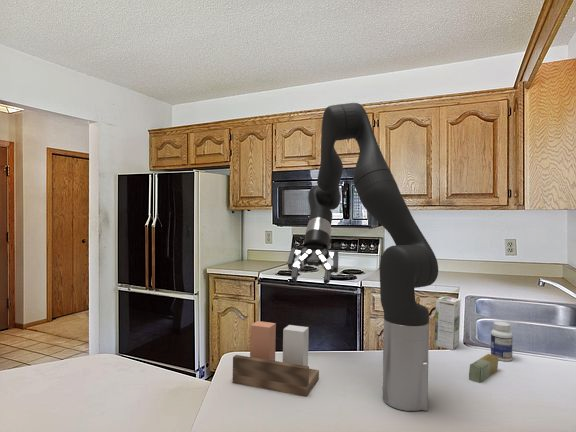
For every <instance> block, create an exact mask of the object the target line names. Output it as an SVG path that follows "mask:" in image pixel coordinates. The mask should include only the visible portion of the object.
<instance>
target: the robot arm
mask: <svg viewBox="0 0 576 432" xmlns="http://www.w3.org/2000/svg"><path fill="white" fill-rule="evenodd" d="M352 139H353V140H355V141H356V143H357V145H358V147H359V148H358V149H359V152H358V153H359V154H358V158H357V161H356V164H355V167H354V172H353V175H352V177H353V185H354V189H355V191H356V193H357V195H358V199H359V200H360V202H361V204H362V206H363V208H364V209H365V210H366V211H367V212H368V213H369V214H370V215H371V217H372V218H373V219H375V220H376V221H377V223H378V224H380V225H381V226H382V227H383V228H384V229H385V230H386V232H387V233H388V234H389V235H390V237H391V238H392V241H393V242H394V245H391V246H389V247H387V248H386V249H385V250H384V251H383V253H382V255H381V258H380V262H379V288H380V289H379V290H380V292H379V293H380V304H381V307H382V310H383V337H382V338H383V340H382V341H383V345H382V349H383V350H382V387H381V389H382V396H381V397H382V400H383V402H384V403H385V404H386V405H388V406H389V407H392V408H394V409H398V410H401V411H405V412H406V411H407V412H408V411H409V412H416V411H424V412H425V411H426V412H427V411H428V402H429V401H428V399H429V397H428V395H429V392H428V391H429V339H430V337H429V336H430V335H429V334H430V333H429V331H430V310H429V309H428V308H427V307H426V306H424V305H422V304H419V303H417V301H416V293H415V292H416V291H415V289H416V288H425V287H428V286H431V285H432V284H434V283H435V281H436V280H437V278H438V275H439V263H438V260H437V257H436V254H435V252H434V251H433V249H432V247H431V246H430V243H429V242H428V240H427V239H426V237H425V236H424V234H423V233H422V231H421V229H420V228H419V226H418V225H417V223H416V220H415V219H414V217H413V216H412V213H411V211H410V209H409V207H408V205H407V203H406V201H405V200H404V197H403V196H402V195H403V194H402V193H401V191H400V189H399V187H398V184H397V182H396V180H395V176H394V175H393V173H392V171H391V169H390V167H389V165H388V164H387V161H386V159H385V157H384V155H383V152H382V151H381V148H380V147H379V143H378V141H377V138H376V136H375V133H374V130H373V127H372V124H371V122H370V119H369V116H368V113H367V112H366V109H365V108H364V107H363V105H362V104H361V103H358V102H349V103H340V104H333V105H329V106H327V107H326V108H325V109H324V111H323V114H322V121H321V143H320V147H321V148H320V164H319V165H320V166H319V168H318V175H317V180H316V183H317V185H313V186H312V187H311V188H310V189H309V191H308V195H307V196H308V197H307V199H308V204H309V211H310V214H309V218H308V222H307V223H308V224H307V226H306V229H305V233H304V234H305V235H304V239H303V244H302V248H301V249H300V250H298V249H296V248H295V247H292V248H291V250H290V252H289V256H288V259H287V267H288V269H289V270H291V276H290V277H291V280H292V281H293V283H297V281H298V277H299V271H300V270H301V269H303V268H305V267H306V266H307V265H308V266H315V267H320V266H321V268H322V269H323V270H324V276H323V285H325V286H326V285H327V284H330V282H331V281H330V280H331V275H332V273H334V274H336V273H338V272H339V251H338V250H334V251H333V252H331V251H329V248H330V241H331V237H332V236H331V235H332V221H333V210H336V209H337V208H338V207H339V206H340V204H341V191H340V190H341V189H340V183H341V180H342V176H343V171H344V164H343V162H342V159H341V157H340V155H339V154H338V153H337V151H336V148H335V143H336V142H337V141H344V140H345V141H346V140H352ZM298 256H299V258H298ZM329 257H330V259H331V260H332V262H333V263H332V265H330V263H328V259H329ZM296 259H297V260H296Z"/></svg>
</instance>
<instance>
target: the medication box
mask: <svg viewBox="0 0 576 432" xmlns="http://www.w3.org/2000/svg"><path fill="white" fill-rule="evenodd" d="M498 366H499V360H498V357H497V356H494V355H491V353H487V354H485V355H484V356H481V357H480V358H479V359H477V360H476V361H474V362H472V363H470V364H469V372H468V380H469V381H471V382H474V383H479V384H480V383H481V382H483V381H484V380H486V379H487V378H488V377H489V376H491V375H493V374H494V373H496V372H497V371H498Z"/></svg>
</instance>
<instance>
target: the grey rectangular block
mask: <svg viewBox="0 0 576 432" xmlns="http://www.w3.org/2000/svg"><path fill="white" fill-rule="evenodd" d="M309 330H310V328H309V326H301V325H293V324H288V325H287V326H285V327H284V328H283V331H282V333H283V334H282V337H283V338H282V362H285V363H291V364H298V365H304V366H309V334H310V333H309Z"/></svg>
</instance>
